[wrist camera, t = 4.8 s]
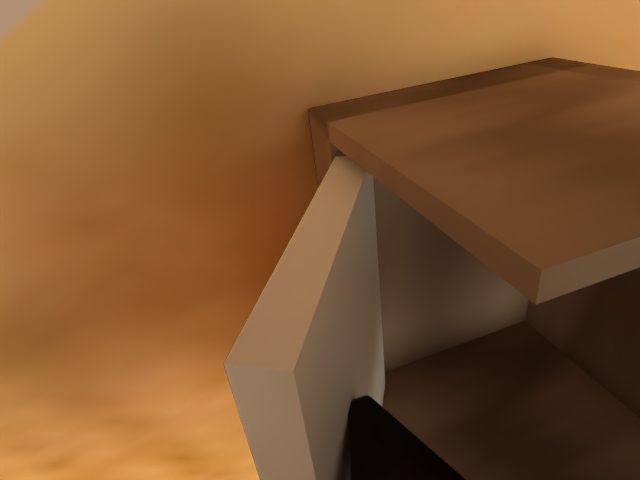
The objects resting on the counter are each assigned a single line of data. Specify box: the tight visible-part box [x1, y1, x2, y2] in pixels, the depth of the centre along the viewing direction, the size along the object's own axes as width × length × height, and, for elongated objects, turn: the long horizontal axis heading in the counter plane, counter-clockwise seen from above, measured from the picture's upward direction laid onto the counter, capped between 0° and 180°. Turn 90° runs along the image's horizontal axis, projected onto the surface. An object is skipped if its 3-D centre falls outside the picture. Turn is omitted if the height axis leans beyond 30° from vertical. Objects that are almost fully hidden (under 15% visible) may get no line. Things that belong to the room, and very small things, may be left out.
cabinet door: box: [223, 156, 385, 480], centre depth 10 cm, size 1×8×7 cm
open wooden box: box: [308, 58, 640, 480], centre depth 12 cm, size 8×10×8 cm
